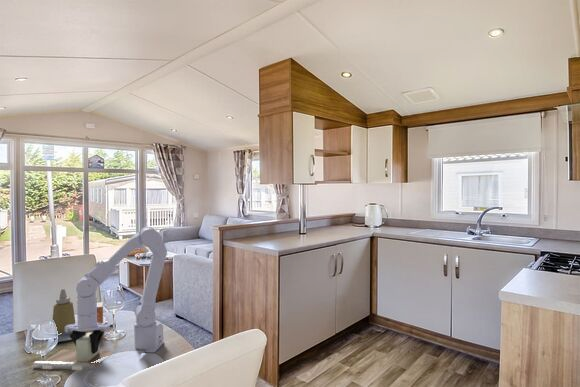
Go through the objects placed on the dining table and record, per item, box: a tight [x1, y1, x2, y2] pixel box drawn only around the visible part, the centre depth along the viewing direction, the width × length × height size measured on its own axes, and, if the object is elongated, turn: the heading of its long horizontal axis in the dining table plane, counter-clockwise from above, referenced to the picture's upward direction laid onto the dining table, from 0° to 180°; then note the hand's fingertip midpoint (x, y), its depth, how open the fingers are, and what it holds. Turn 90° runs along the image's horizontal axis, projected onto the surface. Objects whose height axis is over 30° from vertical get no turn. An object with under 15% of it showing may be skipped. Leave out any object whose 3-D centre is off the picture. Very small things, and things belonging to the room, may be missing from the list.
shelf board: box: [33, 348, 116, 371], centre depth 111 cm, size 20×12×3 cm, turn 86°
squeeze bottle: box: [52, 288, 76, 334], centre depth 135 cm, size 8×8×18 cm
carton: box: [75, 333, 100, 362], centre depth 113 cm, size 4×6×7 cm, turn 175°
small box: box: [85, 301, 104, 337], centre depth 130 cm, size 8×6×13 cm
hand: (88, 352), depth 113 cm, fingers closed on carton, 4 cm apart
